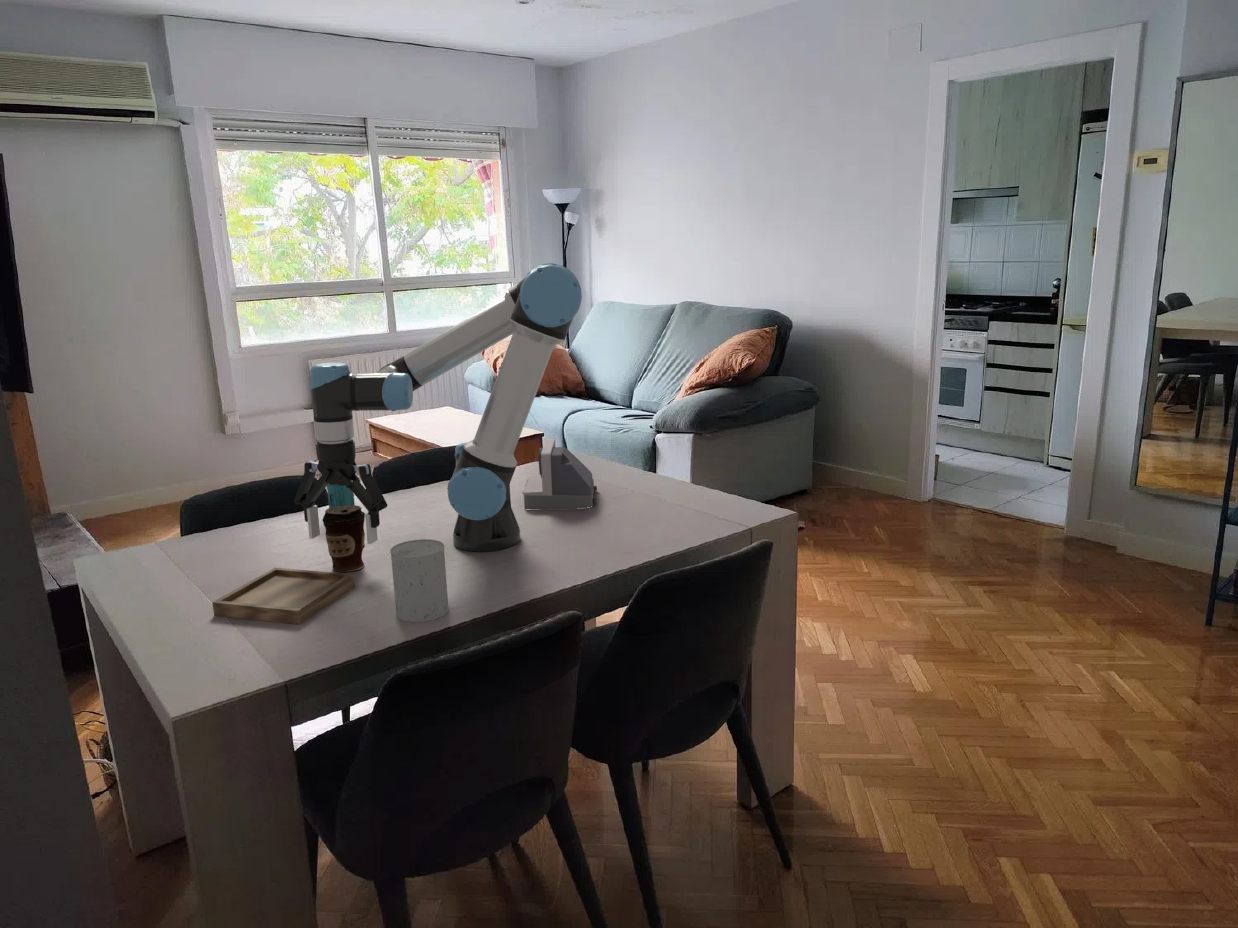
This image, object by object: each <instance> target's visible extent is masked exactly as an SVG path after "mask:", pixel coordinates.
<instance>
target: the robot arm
mask: <svg viewBox="0 0 1238 928" xmlns="http://www.w3.org/2000/svg"><path fill="white" fill-rule="evenodd" d="M525 275H526V276H525V277H524V278H523V279H521V280H520V281H519V282H517V283H516V284H513V286H511V287H509V288H508V289H506V291H505V295H504V297H502V298H500V299H498V300H497V301H495V302H493V303H491V304H490V305H488V306H487V307H485V308H483V309H481V310H480V311H478V312H476V313H475V314H473V315H471V316H469V317H468V318H466V319H464V320H462V321H461V322H459V323H457V324H456V325H454V326H452V327H451V328H449V329H447V330H445V331H444V332H442V333H440V334H438V335H437V336H434V338H431V339H430V340H428V341H427V342H425V343H423V344H421V345H419V346H417V347H416V348H414V349H412V350H411V351H409V352H408V353H406V354H404V355H403V356H400V358H397V359H396V360H394V361H392V362H389V363H387V364H386V365H384V366H383V367H381V368H379V370H378V371H376V372H370V373H369V372H368V373H367V372H365V373H354V372H351V370H350V367H349V366H350V365H348V364H347V363H344V362H324V363H323V362H322V363H316V364H314V365H312V366H311V368H310V370H309V375H310V379H309V380H310V386H309V390H310V394H311V395H310V396H311V405H312V412H313V428H314V439H315V440H316V443H315V450H316V459H317V460H318V462H317V461H316V460H315V459H312V460H309V461H306V462H304V466H303V467H304V468H303V469H304V473H303V476H302V477H301V478H302V479H301V481H300V482H299V483H300V484H299V486H298V489H297V492H296V494H295V496H294V500H293V502H294V504H295V505H299V506H302V508H303V514H304V517H303V518H304V521H305V522H306V523H307V527H308V537H309V538H308V539H312V540H313V539H315V538H316V537H318V536H320V535H321V530H320V520H319V519H320V518H319V507H318V505H317V504H316V501H317V500H318V499H319V497H320V496H321V494H322V493H323V491H324V490H325V489H326V488H327V487H326V486H327V485H328V483H329V485H335V484H337V485H339V486H343V485H345V486H346V487H347V488H349V489H351V491H352V492H353V494H354V497H356V498H357V499H358V500H359V502H360V503H361V505H363V506H364V508H365V509H366V510H367V512H364V513H365V527H366V529H365V530H366V541H367V545H372V544H373V543H375V542H376V541H378V527H379V526H380V512H382V510H384V509H386V508H388V502H387V501H386V499H385V497H384V495H383V493H382V491H381V489H380V487H379V486H378V483H377V481H376V480H375V478H374V476H373V473H372V468H371V464H370V463H364V464H360V465H359V464H357V463H356V442H355V439H353V438H354V437H355V432H354V420H353V419H354V418H353V417H354V416H353V411H354V412H356V411H357V412H358V411H361V412H362V411H391V412H396V411H404V410H405V411H406V410H409V409H410V408H411V407H412V405H413V400H414V399H413V398H414V397H413V396H414V395H413V394H414V392H415V391H416V390H418V389H420V388H421V387H422V386H424V385H426V384H428V383H429V382H432V381H434V380H435V379H436V378H438V377H440V376H442V375H443V374H445V373H448V372H449V371H451V370H453V369H454V368H456V367H458V366H460V365H461V364H463V363H464V362H466V361H468V360H470V359H472V358H473V357H475V356H477V355H479V354H480V353H482V352H484V351H486V350H487V349H489V348H491V347H492V346H495V345H496V344H498V343H499V342H501V341H504V339H506V338H508V337H510V336H511V338H510V340H509V343H508V346H507V349H506V351H505V355H504V357H503V360H502V362H501V365H500V367H499V370H498V373H497V375H496V379H495V381H494V384H493V386H492V390H491V391H490V394H489V397H488V400H487V402H486V405H485V408H484V411H483V414H482V416H481V419H480V421H479V425H478V427H477V430H476V433H475V435H474V438H473V439H472V440H470V441H468V442H464V443H463V442H462V443H459V444H457V445H456V446H455V447H454V448H455V449H454V450H455V452H454V458H455V468H454V470H453V473H452V477H450V479H449V482H448V484H447V488H446V489H447V491H446V492H447V499H448V501H449V503H450V506H451V508H453V510H454V511H455V512H456V513H457V517H456V521H455V525H454V528H453V533H452V538H453V539H452V541H453V545H454V546H455V547H456V548H458V549H460V550H463V551H464V550H465V551H468V552H469V551H471V552H493V551H498V550H503V549H506V548H509V547H512V546H515V545H516V544H518V543H519V542H520V541H521V530H520V526H519V523H518V521H517V518H516V516H515V513H514V510H513V509H512V508H513V507H512V502H511V485H510V484H511V481H512V479H513V476H514V473H515V470H516V468H517V467H518V461H517V459H516V458H515V455H514V453H515V450H516V448H517V445H518V443H519V440H520V438H521V435H522V433H523V429H524V427H525V424H526V421H527V420H528V419H527V418H528V416H529V414H530V412H531V409H532V405H533V404H534V400H535V398H536V395H537V393H538V391H539V387H540V385H541V382H542V379H543V377H544V375H545V371H546V368H547V366H548V363H549V361H550V358H551V356H552V353H553V351H554V349H555V346H557V345H559V344H561V343H564V342H565V340H566V337H567V335H568V333H569V330H570V328H571V325H572V323H573V320H574V317H575V316H576V314H577V313H578V312H579V310H580V306H581V303H582V300H583V299H582V297H583V296H582V288H581V285H580V282H579V280H578V278H577V277H576V275H575V274H574V273H573V272H572V271H571V270H570V269H569V268H567V267H565V266H563V265H560V264H556V263H552V262H551V263H543V264H540V265H537V266H535V267H533V268H532V269H531V270H530V271H528V273H527V274H525ZM317 472H319V474H320V476H319V478H318V480H317V481H316V483H315V485H314V486H313V488H312V489H311V487H312V484H313V482H314V479H315V476H316V474H317ZM356 473H357V474H356ZM357 475H358V476H359V477H360V478H359V477H358V476H357ZM351 480H352V481H353V482H351ZM361 482H362V483H361ZM310 489H311V490H310Z"/></svg>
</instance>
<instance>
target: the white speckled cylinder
mask: <svg viewBox="0 0 1238 928" xmlns="http://www.w3.org/2000/svg"><path fill="white" fill-rule="evenodd" d="M389 552H390V559H391V569H392V570H391V571H392V581H393V591H394V592H393V593H394V599H395V600H394V602H395V616H396V618H398V619H399V620H401V621H403V622H408V623H423V622H429V621H430V622H431V621H434V620H437V619H440V618H442V617H443V616H445V615H446V614H448V612H449V610H450V606H449V598H448V585H447V571H446V558H445V544H444V543H443V542H442V541H441V540H435V539H426V538H423V539H422V538H421V539H413V540H408V541H403V542H400V543H398V544H396V545H394V546H392V547H391V549H390V551H389Z"/></svg>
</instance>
